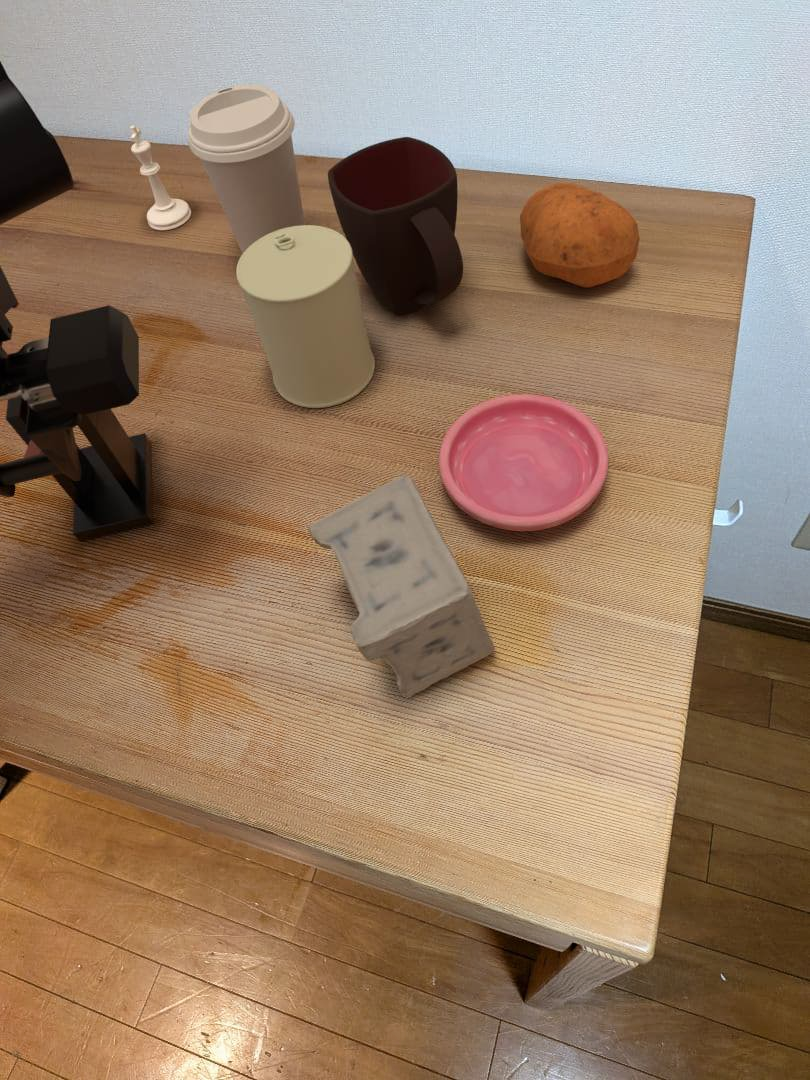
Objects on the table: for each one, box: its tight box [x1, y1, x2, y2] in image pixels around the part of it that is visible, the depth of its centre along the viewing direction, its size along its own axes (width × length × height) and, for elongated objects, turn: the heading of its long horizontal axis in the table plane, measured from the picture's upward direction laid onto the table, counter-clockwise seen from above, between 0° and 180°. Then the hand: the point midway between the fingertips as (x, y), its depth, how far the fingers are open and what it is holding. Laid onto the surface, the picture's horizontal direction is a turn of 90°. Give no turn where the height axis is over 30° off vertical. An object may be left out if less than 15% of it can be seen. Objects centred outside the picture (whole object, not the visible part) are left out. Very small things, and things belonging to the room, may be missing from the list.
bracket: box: [5, 396, 154, 542], centre depth 57 cm, size 9×6×12 cm, turn 12°
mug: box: [327, 136, 464, 316], centre depth 65 cm, size 10×14×12 cm
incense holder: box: [308, 474, 496, 699], centre depth 47 cm, size 10×8×10 cm
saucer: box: [438, 393, 609, 532], centre depth 56 cm, size 12×12×3 cm
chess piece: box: [129, 125, 192, 231], centre depth 79 cm, size 5×5×10 cm
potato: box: [519, 182, 640, 288], centre depth 67 cm, size 9×11×8 cm
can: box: [235, 224, 376, 409], centre depth 61 cm, size 9×9×12 cm
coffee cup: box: [187, 84, 306, 254], centre depth 70 cm, size 10×10×15 cm
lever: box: [0, 440, 63, 486], centre depth 50 cm, size 10×4×2 cm, turn 12°
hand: (45, 483), depth 48 cm, fingers closed on lever, 4 cm apart
